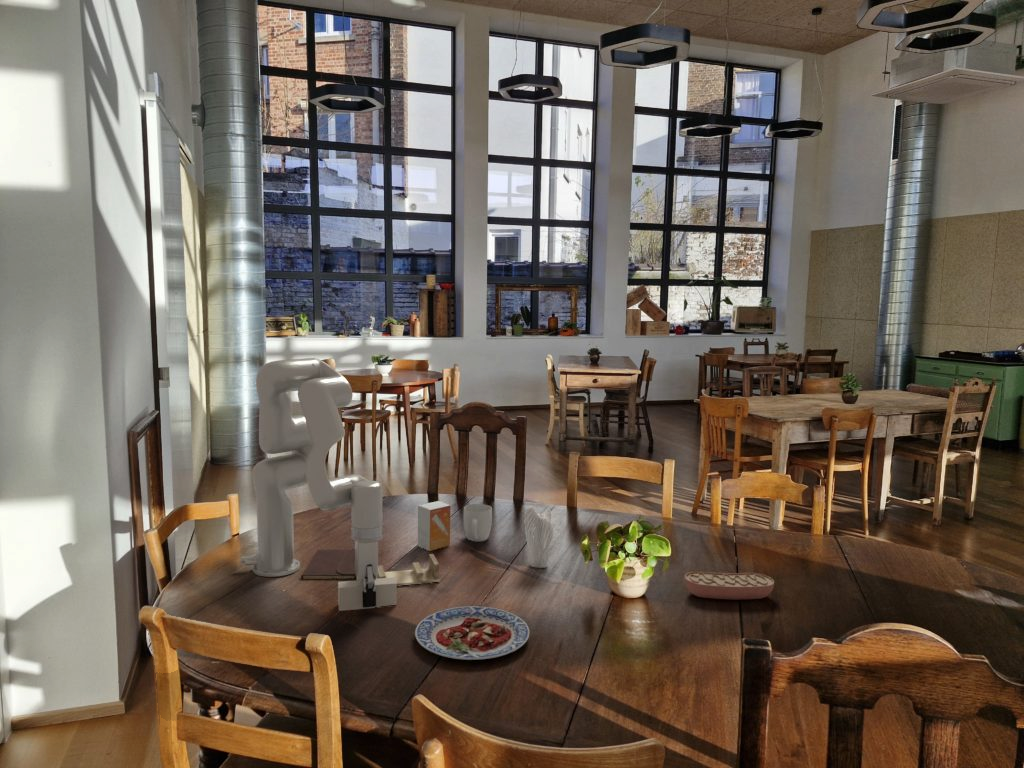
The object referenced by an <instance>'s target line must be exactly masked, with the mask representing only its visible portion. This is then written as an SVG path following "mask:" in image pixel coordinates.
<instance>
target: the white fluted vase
mask: <svg viewBox="0 0 1024 768" xmlns="http://www.w3.org/2000/svg"><path fill="white" fill-rule="evenodd" d="M551 509H552V508H551V507H548V508H547V509H546V510H545V511H544V512H542V513H538V512H537V511H536V509H535V507H533V506H532V505H529V506H528V508H526V510H524V517H525V518H524V521H523V524H524V525H525V527H524V533H525V540H526V543H527V548H528V549H527V551H528V554H529V559H530V566H531V567H533V568H539V569H541V568H546V567H547V566H548V564H549V557H550V544H551V543H552V541H553V537H554V527H553V523H552V510H551Z"/></svg>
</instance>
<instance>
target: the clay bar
mask: <svg viewBox="0 0 1024 768" xmlns="http://www.w3.org/2000/svg"><path fill="white" fill-rule="evenodd" d="M366 584H368V582H366ZM337 588H338V589H337V590H338V591H337V592H338V593H337V595H338V596H337V597H338V598H337V600H338V605H337V606H338V611H339V612H341V611H342V612H343V611H351V610H352V611H354V610H364V609H375V607H377V608H382V607H381V606H387V605H396V604H398V603H397V601H398V598H397V596H398V594H397V591H398V589H397V583H396V579H395V577H392V578H379V579H376V580H375V590H376V606H375V607H366V608H364V607H363V598H362V591H364V588H363V580H362V581H360V582H359V581H358V580H357V579H354V580H346V581H345V580H344V581H343V580H342V581H337Z"/></svg>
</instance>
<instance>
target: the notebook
mask: <svg viewBox="0 0 1024 768" xmlns="http://www.w3.org/2000/svg"><path fill="white" fill-rule="evenodd" d="M332 578H333V579H332ZM334 578H335V579H334ZM336 578H337V579H336ZM349 578H350V579H349ZM351 578H352V579H351ZM353 578H355V580H357V578H356V573H355V548H352V549H317V550H316V552H315V554H314V555H313V557H312V558H311V559H310V561H309V563H308V565H307V566H306V568H305V569H304V571H303V573H302V575H300V580H311V579H312V580H320V579H321V580H354V579H353Z"/></svg>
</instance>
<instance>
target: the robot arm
mask: <svg viewBox="0 0 1024 768" xmlns="http://www.w3.org/2000/svg"><path fill="white" fill-rule="evenodd" d="M255 381H256V382H255V385H256V391H257V396H258V401H259V412H258V413H259V415H258V417H259V418H258V444H259V448H260V449H261V451H262V452H263V453H266V454H268V455H276V454H282V453H287V452H288V453H289V452H291V453H289V454H285V455H278V456H274V457H273V456H272V457H269V458H265V459H262V460H261V461H258V462H257V463H256V464H255V465H254V467H252V471H251V478H252V483H253V488H254V494H255V502H256V518H257V519H256V521H257V522H256V523H257V524H256V525H257V526H256V527H257V528H256V530H257V531H256V533H257V551H256V554H253V555H252V556H241V557H240V563H241V564H240V565H243V564H245V566H246V567H247V566H252V573H253V574H254V575H256V576H259V577H264V578H265V577H266V578H276V577H283V576H287V575H291V574H293V573H296V572H297V571H298V570H299V569H300V567H301V563H300V561H299V560H298V559H296V558H295V543H294V542H295V540H294V537H295V536H294V506H293V503H292V501H291V499H290V498H289V497H288V495H287V493H286V491H288V490H292V489H295V488H300V487H304V486H307V485H308V489H309V491H310V495H311V498H312V500H313V502H314V504H315V505H316V507H318V508H319V509H320V510H321V511H324V512H333V511H336V510H339V509H342V508H346V507H350V506H351V507H350V508H351V510H350V511H351V513H350V514H351V517H350V518H351V526H350V527H351V540H352V541H354V549H355V573H356V577H355V579H356V578H357V579H356V580H358V581H359V582H360V581H362V580H363V588H364V591H362V598H363V607H364V608H366V607H375V606H376V590H375V580H376V579H377V578H378V566H379V540H381V539H383V536H384V535H383V533H384V531H383V522H384V521H383V486H382V483H380V482H379V481H376V480H369V479H367V478H366V477H364V476H362V475H360V474H357V473H352V474H347V475H343V476H339V477H335V478H330V479H329V477H328V472H327V469H326V459H327V456H328V453H329V451H330V450H331V448H333V446H335V445H336V444H337V443H338V442H340V441H341V440H342V439H343V438H344V437H345V435H346V430H345V427H344V424H343V421H342V418H341V416H340V412H339V409H340V408H345V407H347V406H349V405H350V404H351V402H352V400H353V394H354V393H353V390H352V389H353V388H352V387H351V384H350V382H349V381H348V380H347V379H346V377H344V375H342V374H341V373H340V372H339V371H337V370H336V369H335V368H333V367H332V366H331V365H329V364H328V363H326V362H324V361H323V360H321V359H319V358H315V357H307V358H296V359H295V358H292V359H280V360H279V359H278V360H273V361H269V362H266V363H265V364H263V365H262V366H260V368H259V369H258V371H257V373H256V377H255ZM288 392H289V393H290V392H297V398H298V401H299V405H300V408H301V410H302V411H301V412H302V414H303V415H299V414H298V415H293V402H292V399H291V397H290V395H289V394H288ZM366 582H368V584H366ZM366 609H367V608H366Z"/></svg>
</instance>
